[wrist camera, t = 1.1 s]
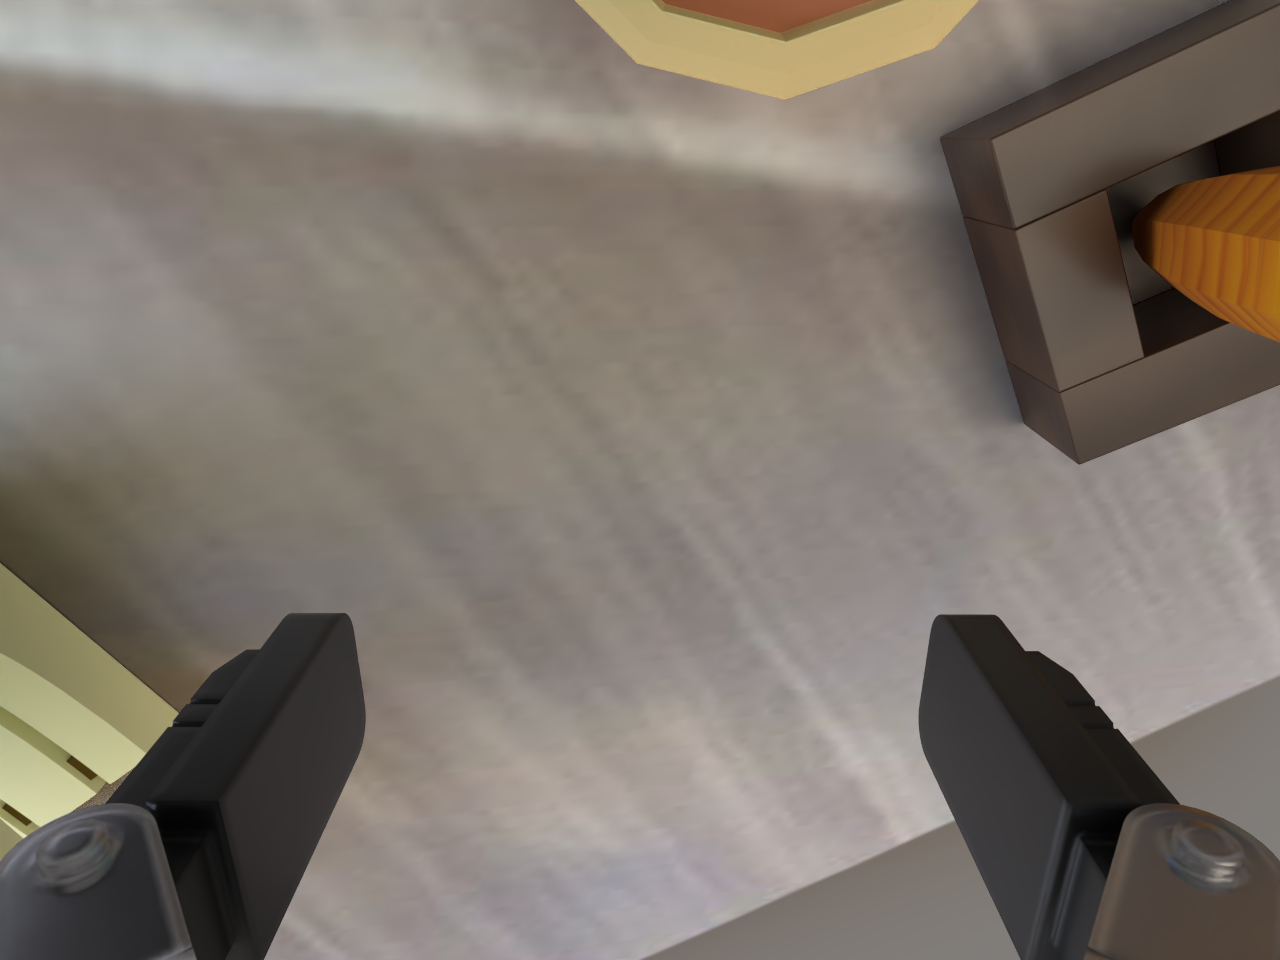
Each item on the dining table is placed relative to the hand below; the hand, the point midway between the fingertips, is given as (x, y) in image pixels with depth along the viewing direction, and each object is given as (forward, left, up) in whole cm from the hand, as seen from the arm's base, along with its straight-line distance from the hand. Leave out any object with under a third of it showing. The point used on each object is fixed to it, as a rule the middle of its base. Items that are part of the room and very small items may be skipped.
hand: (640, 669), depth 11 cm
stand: (+5, +19, -22) cm, 30 cm away
